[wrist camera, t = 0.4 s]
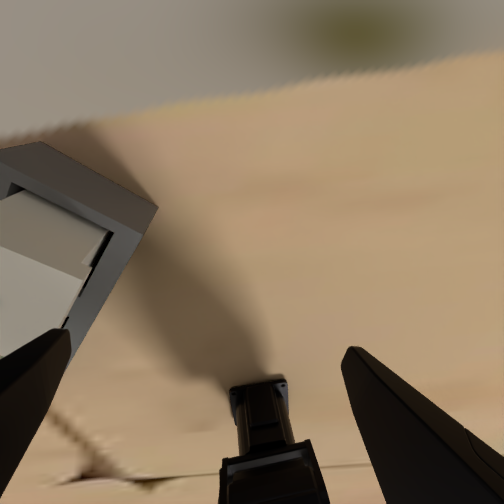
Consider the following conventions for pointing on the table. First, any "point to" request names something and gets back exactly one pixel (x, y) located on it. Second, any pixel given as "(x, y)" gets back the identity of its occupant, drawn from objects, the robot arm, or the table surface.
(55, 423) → the table surface
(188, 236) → the table surface
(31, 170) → the key console
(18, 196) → the key one dot
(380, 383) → the robot arm
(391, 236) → the table surface
